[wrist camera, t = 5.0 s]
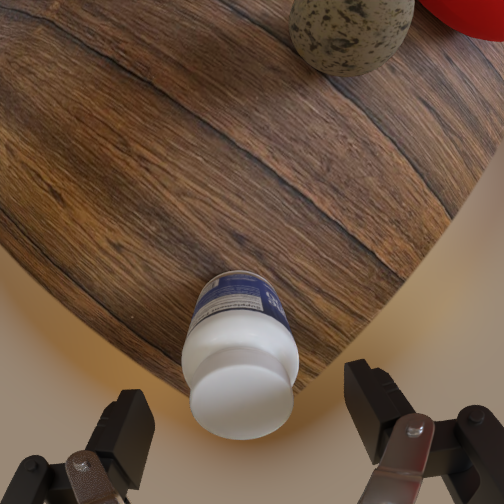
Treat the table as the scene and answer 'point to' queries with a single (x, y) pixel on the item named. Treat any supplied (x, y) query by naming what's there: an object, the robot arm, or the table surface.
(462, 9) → the tomato
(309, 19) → the decorative egg
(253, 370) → the pill bottle
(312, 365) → the table surface
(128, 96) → the table surface
